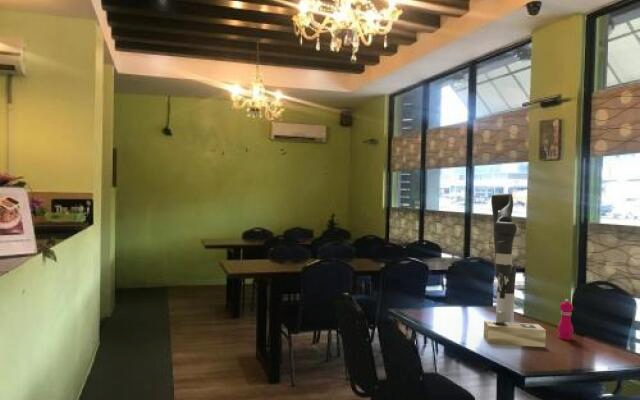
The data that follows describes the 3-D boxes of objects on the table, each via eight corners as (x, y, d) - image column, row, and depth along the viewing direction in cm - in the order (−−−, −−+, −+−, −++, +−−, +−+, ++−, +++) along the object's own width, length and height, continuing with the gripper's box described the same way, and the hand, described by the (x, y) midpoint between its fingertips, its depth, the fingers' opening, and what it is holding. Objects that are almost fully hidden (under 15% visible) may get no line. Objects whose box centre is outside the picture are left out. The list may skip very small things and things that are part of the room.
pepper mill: (574, 340, 255) (576, 300, 255) (559, 339, 256) (561, 299, 256) (570, 336, 262) (572, 298, 262) (555, 335, 263) (557, 297, 263)
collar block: (483, 336, 255) (484, 320, 255) (537, 340, 252) (538, 324, 252) (488, 343, 243) (489, 326, 243) (545, 347, 240) (545, 330, 240)
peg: (495, 326, 251) (495, 310, 251) (503, 327, 250) (504, 311, 250) (496, 328, 247) (497, 312, 247) (505, 329, 246) (506, 313, 246)
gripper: (492, 260, 255) (491, 295, 255) (498, 264, 242) (497, 300, 242) (508, 261, 255) (506, 296, 255) (515, 264, 241) (513, 301, 241)
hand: (502, 298), depth 248 cm, fingers closed
